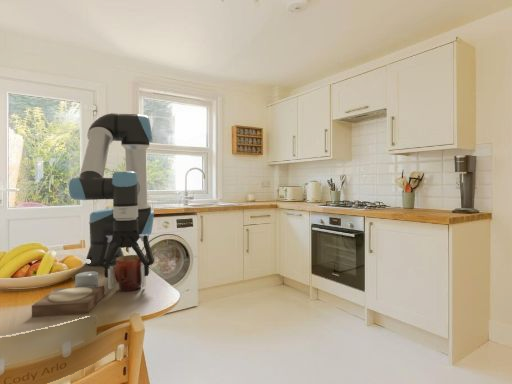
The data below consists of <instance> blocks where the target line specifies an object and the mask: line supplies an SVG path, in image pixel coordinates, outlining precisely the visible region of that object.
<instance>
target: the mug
mask: <svg viewBox="0 0 512 384" xmlns="http://www.w3.org/2000/svg"><path fill="white" fill-rule="evenodd" d="M142 266H143V263H142V262H141V260H140V259H139V257H138V255H137V254H129V255H124V256H121V257H118V258H116V265H115V266H114V268H113V277H114V279H115V281H116V282H117V284H118V287H119V290H120V291H121V292H133V291H136V290H139V289H140V288H142Z"/></svg>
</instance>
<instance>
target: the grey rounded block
mask: <svg viewBox="0 0 512 384" xmlns="http://www.w3.org/2000/svg"><path fill="white" fill-rule="evenodd" d="M74 278H75V280H74V281H75V287H91V286H99V272H98V271H94V270H93V271H83V272H80V273H77V274H75V275H74Z"/></svg>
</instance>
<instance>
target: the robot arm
mask: <svg viewBox="0 0 512 384" xmlns="http://www.w3.org/2000/svg"><path fill="white" fill-rule="evenodd" d="M86 136H87V140H88V142H87V147H86V149H85V150H86V151H85V154H84V157H83V161H82V166H81V169H80V172H79V177H78V176H77V177H73V178H71V179H70V180H69V182H68V194H69V196H70V199H72V200H75V201H76V200H77V201H78V200H79V201H92V200H94V201H95V200H97V201H98V200H112V201H113V203H112V208H105V209H99V210H94V211H92V212H91V213H90V214H89V222H88V224H89V241H90V242H89V243H90V244H89V247H88V248H89V249H88V252H87V253H86V254H87V255H86V257H85V260H86V259H90V260H91V263H90V264H89V265H88V266H95V267H97V266H98V267H99V268H100V267H101V268H104V278H105V279H107V286H108V289H112V288H113V287H114V267H113V266H112V265H115V264H116V265H117V263H116V258H118V257H121V256H125V255H124V252H123V250H122V248H123V249H124V248H130V249H131V248H132V249H133V251H134V252H135V255H138V257H139V259H140V260H141V262H142V284H141V288H144V287H145V286H146V285H147V282H146V281H147V277H148V276H149V274H150V267H149V266H151V265H153V264H155V257H154V254H153V251H152V249H151V245H150V242H149V241H150V239H149V237H150V235H152V232H153V227H154V226H153V224H154V217H155V216H154V215H155V210H154V209H151V208H152V206H151V205H150V204H149V202H148V187H147V185H148V183H147V180H148V179H147V149H148V148H149V147H150V143H153V141H154V140H153V133H152V127H151V121H150V118H149V116H147V115H145V114H137V113H133V114H132V113H115V112H114V113H113V112H111V113H106V114H104V115H102V116H100V117H98V118H97V119H95V120H94V121H93V122H92V123H91V124H90V127H89V128H88V130H87V135H86ZM113 142H121V143H120V145H121V147H123V149H124V152H125V153H124V154H125V171H114V172H113V173H112V177H104V174H105V170H106V165H107V159H108V153H109V148H110V145H112V143H113ZM139 239H140V240H141V242H143V246H144V250H145V253H146V255H145V254H144V252H143V250H142V249H141V247H140V246H139V245H140V244H138V240H139ZM146 256H147V257H146Z"/></svg>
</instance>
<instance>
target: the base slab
mask: <svg viewBox="0 0 512 384" xmlns="http://www.w3.org/2000/svg"><path fill="white" fill-rule="evenodd" d="M104 297H105V285H97V286H91V287H76V286H75V287H74V286H73V287H57V288H55V289H53V290H52V291H50V292H49V293H48V294H46V295H44V297H42V298H41V299H39V300H38V301H37V302H35V303H34V304H31V317H32V318H35V317H36V318H37V317H39V318H40V317H53V316H54V317H55V316H68V315H84V314H86V315H87V314H89V313H90V312H91V311H92V310H93V309H94V308H95V306H96V305H97V304H98V303H99V302H100V301H101V300H102V299H103V298H104Z"/></svg>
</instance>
